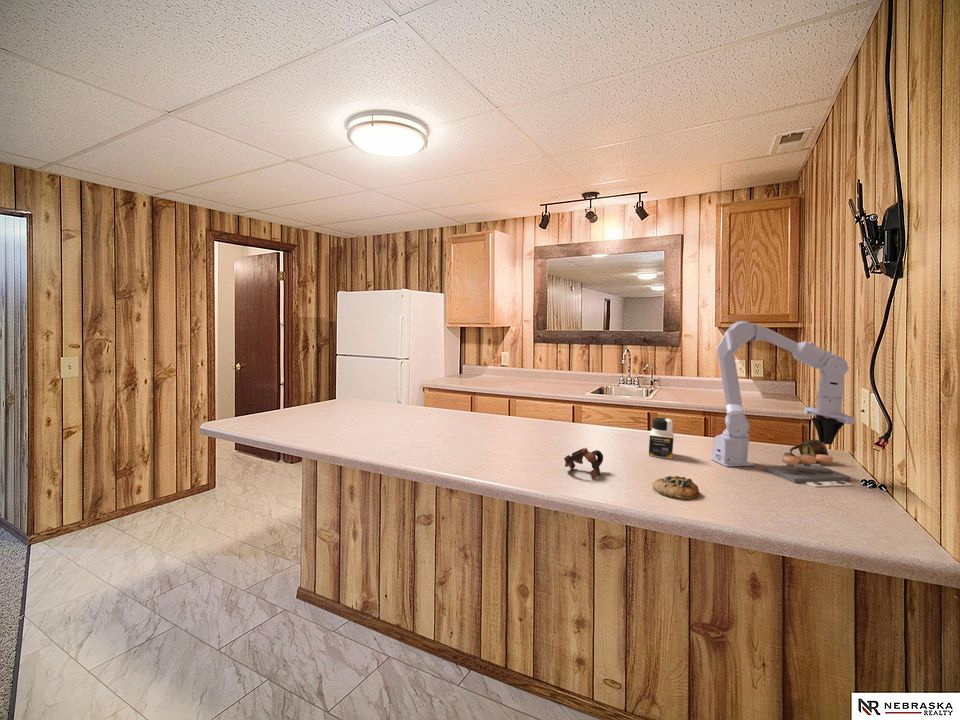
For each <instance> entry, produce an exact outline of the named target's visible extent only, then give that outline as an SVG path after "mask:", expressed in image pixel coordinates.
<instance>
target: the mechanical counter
mask: <svg viewBox="0 0 960 720" xmlns="http://www.w3.org/2000/svg"><path fill="white" fill-rule="evenodd" d="M797 449H798V450H799V455H809V456H813V457H816V455H817V454H821V455H828V456H829V451H828V449H827V447H826V444H824V443H820V442H819V439H816V438H814V439H810V440H807V441H804V442H801V443H800V444H797V445H794V446H791V448H790V449H789V452H784V453H783V456H784V455H790V456H795V457H798V458H799V457H800V456H797V455H795V454H794V453H793V451H794V450H797Z"/></svg>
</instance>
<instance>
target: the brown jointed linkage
mask: <svg viewBox="0 0 960 720" xmlns="http://www.w3.org/2000/svg"><path fill="white" fill-rule="evenodd" d="M584 458H585V459H586V461H587V462H588V463H590V465H591V468H592V470H591V471H589V472H588V473H589V475H590V477H591V480H595V479H597V478H598V477H600V476H601V475H602V474H601V470H600V466H601V465H602V463H603V461H604V455H603V453H602V452H601V451H600V450H598V449H596V450H593V451H589V450H588V447H585V448H580V449H578V450H576V451H574V452H572V453H571V455H570V454H568V455H566V456H565V457H564V458H563V460H564V461H565V463H564V467H565V468H567V467H569V469H571V470H573V469H574V468H575V467H576V463H577V464H579V465H581V464H582V465H583V464H584V461H583V459H584Z"/></svg>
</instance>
